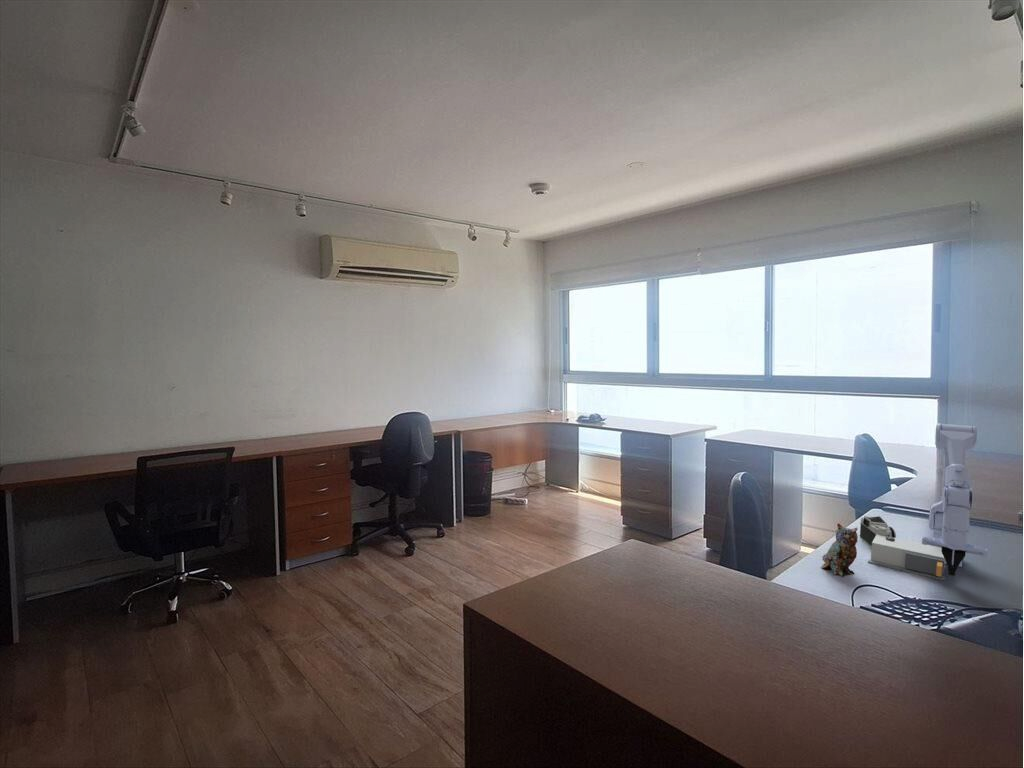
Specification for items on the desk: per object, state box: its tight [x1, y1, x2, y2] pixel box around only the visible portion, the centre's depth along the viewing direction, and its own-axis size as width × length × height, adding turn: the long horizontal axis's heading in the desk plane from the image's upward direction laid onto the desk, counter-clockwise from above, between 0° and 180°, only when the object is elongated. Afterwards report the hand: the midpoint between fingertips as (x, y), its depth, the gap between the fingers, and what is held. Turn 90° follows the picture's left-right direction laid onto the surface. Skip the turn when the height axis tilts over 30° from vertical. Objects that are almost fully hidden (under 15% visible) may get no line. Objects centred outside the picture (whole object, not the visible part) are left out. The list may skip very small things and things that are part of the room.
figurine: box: [820, 522, 858, 578], centre depth 164 cm, size 9×9×15 cm
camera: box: [859, 515, 897, 548], centre depth 186 cm, size 16×9×10 cm, turn 168°
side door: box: [905, 552, 945, 577], centre depth 161 cm, size 5×9×5 cm, turn 49°
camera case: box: [867, 535, 946, 581], centre depth 169 cm, size 12×19×6 cm, turn 49°
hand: (951, 574), depth 156 cm, fingers closed
